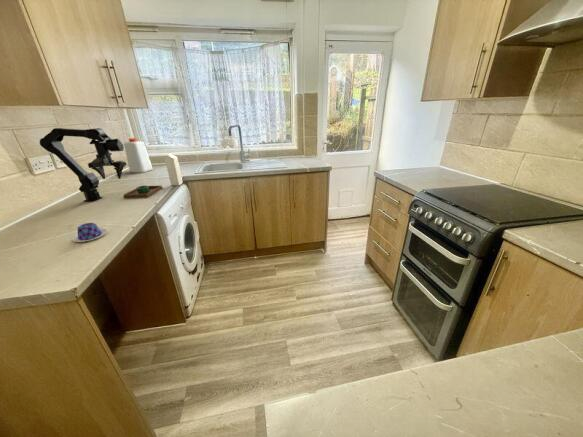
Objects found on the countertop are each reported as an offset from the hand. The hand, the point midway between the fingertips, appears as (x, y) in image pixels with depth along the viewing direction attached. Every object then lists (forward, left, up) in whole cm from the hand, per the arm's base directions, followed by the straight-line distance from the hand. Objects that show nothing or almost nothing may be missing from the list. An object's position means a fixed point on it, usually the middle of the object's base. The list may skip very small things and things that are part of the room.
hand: (112, 178), depth 144 cm
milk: (+24, +28, -12) cm, 39 cm away
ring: (+11, +9, -11) cm, 18 cm away
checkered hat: (+22, -51, -12) cm, 57 cm away
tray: (+11, +9, -12) cm, 19 cm away
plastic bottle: (-29, +76, -12) cm, 82 cm away
